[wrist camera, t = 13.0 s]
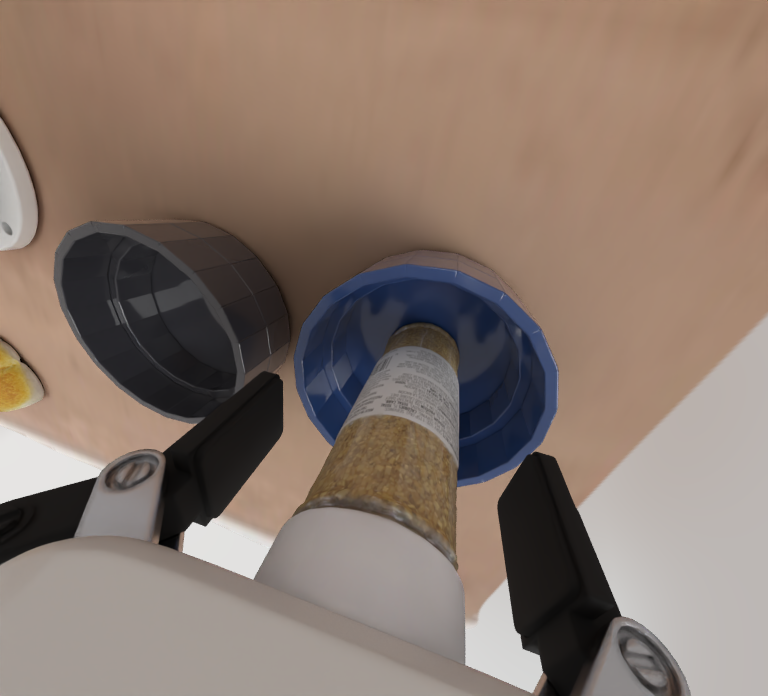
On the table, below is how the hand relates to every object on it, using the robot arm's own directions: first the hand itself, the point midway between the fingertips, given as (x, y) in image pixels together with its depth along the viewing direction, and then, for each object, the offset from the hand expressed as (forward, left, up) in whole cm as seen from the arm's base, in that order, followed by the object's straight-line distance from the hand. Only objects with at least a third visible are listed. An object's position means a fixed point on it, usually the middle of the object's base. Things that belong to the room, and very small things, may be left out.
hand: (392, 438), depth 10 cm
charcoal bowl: (-9, -12, -8) cm, 17 cm away
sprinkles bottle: (0, 0, -8) cm, 8 cm away
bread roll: (-17, -42, -8) cm, 46 cm away
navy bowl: (0, 0, -8) cm, 8 cm away
